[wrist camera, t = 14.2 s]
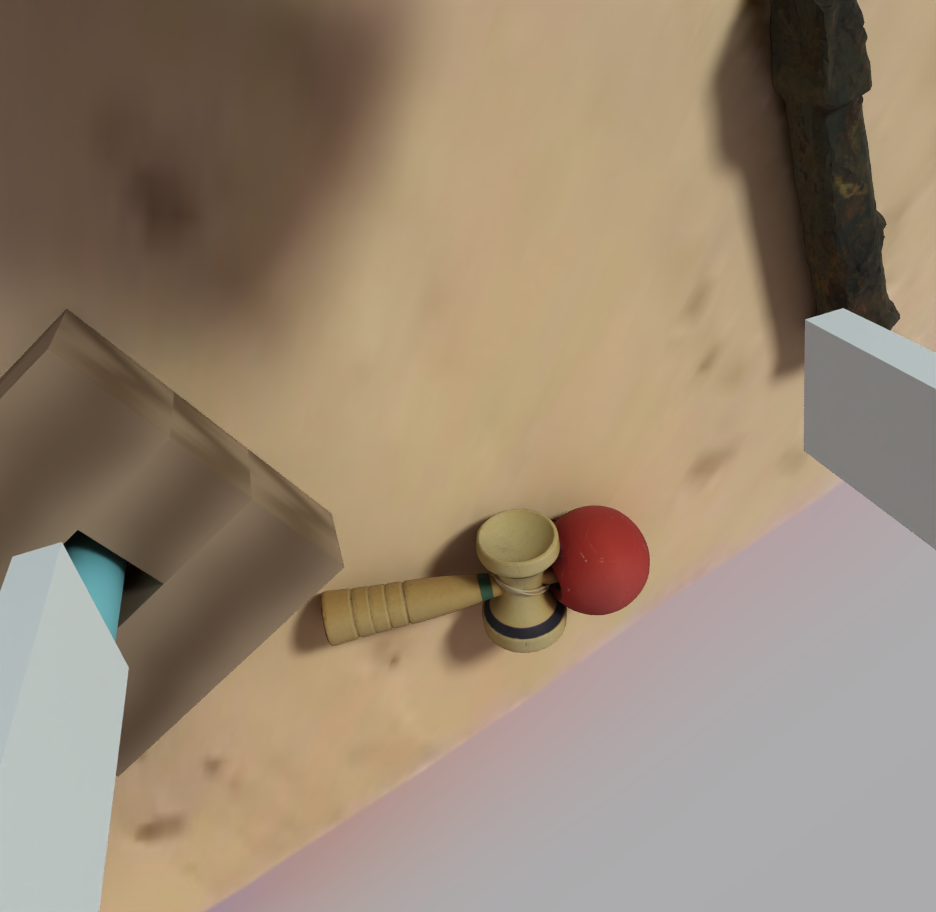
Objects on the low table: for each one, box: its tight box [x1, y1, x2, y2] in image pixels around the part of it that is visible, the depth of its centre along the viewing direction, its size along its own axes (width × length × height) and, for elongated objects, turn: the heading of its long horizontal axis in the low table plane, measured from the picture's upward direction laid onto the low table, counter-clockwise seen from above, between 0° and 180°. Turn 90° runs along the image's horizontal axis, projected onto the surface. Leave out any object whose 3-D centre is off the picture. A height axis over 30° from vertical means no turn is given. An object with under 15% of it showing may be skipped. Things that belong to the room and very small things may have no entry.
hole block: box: [0, 309, 344, 776], centre depth 40 cm, size 16×16×5 cm
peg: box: [63, 530, 127, 641], centre depth 38 cm, size 3×3×10 cm
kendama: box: [321, 506, 650, 653], centre depth 47 cm, size 8×6×18 cm
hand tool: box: [770, 0, 900, 330], centre depth 41 cm, size 19×4×5 cm, turn 20°
